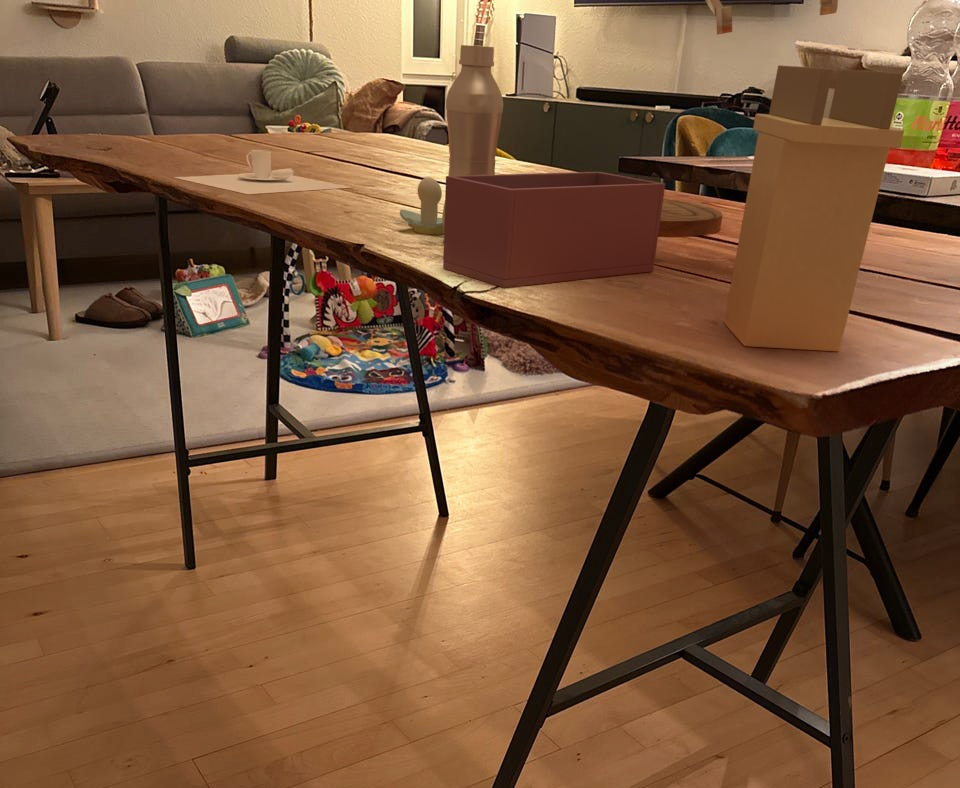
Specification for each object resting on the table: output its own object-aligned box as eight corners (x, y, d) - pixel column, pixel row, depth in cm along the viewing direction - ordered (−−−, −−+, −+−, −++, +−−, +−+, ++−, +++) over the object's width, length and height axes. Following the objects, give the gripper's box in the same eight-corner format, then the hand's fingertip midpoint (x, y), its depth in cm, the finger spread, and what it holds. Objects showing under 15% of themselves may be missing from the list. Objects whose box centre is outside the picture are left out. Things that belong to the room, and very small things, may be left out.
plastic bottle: (460, 250, 110) (468, 45, 100) (431, 239, 115) (436, 43, 105) (506, 247, 113) (519, 48, 103) (476, 237, 118) (486, 46, 108)
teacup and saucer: (301, 182, 154) (300, 153, 151) (260, 184, 149) (258, 155, 146) (268, 175, 159) (267, 147, 156) (227, 177, 153) (225, 149, 151)
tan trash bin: (718, 317, 88) (764, 64, 78) (805, 322, 89) (862, 70, 78) (749, 352, 78) (807, 67, 68) (847, 358, 78) (919, 74, 68)
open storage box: (589, 254, 112) (598, 171, 108) (653, 271, 106) (665, 183, 101) (442, 268, 101) (445, 175, 96) (503, 288, 94) (510, 189, 90)
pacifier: (410, 227, 123) (395, 232, 118) (411, 172, 120) (396, 175, 115) (465, 232, 122) (452, 238, 117) (468, 178, 119) (455, 181, 114)
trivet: (576, 234, 124) (577, 218, 123) (523, 205, 145) (524, 191, 144) (751, 238, 130) (754, 222, 129) (677, 209, 151) (679, 196, 150)
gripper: (655, -137, 88) (662, 29, 91) (896, -193, 83) (895, -15, 86) (660, -101, 94) (666, 54, 97) (885, -151, 89) (884, 14, 92)
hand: (775, 21), depth 91 cm, fingers open, 8 cm apart
